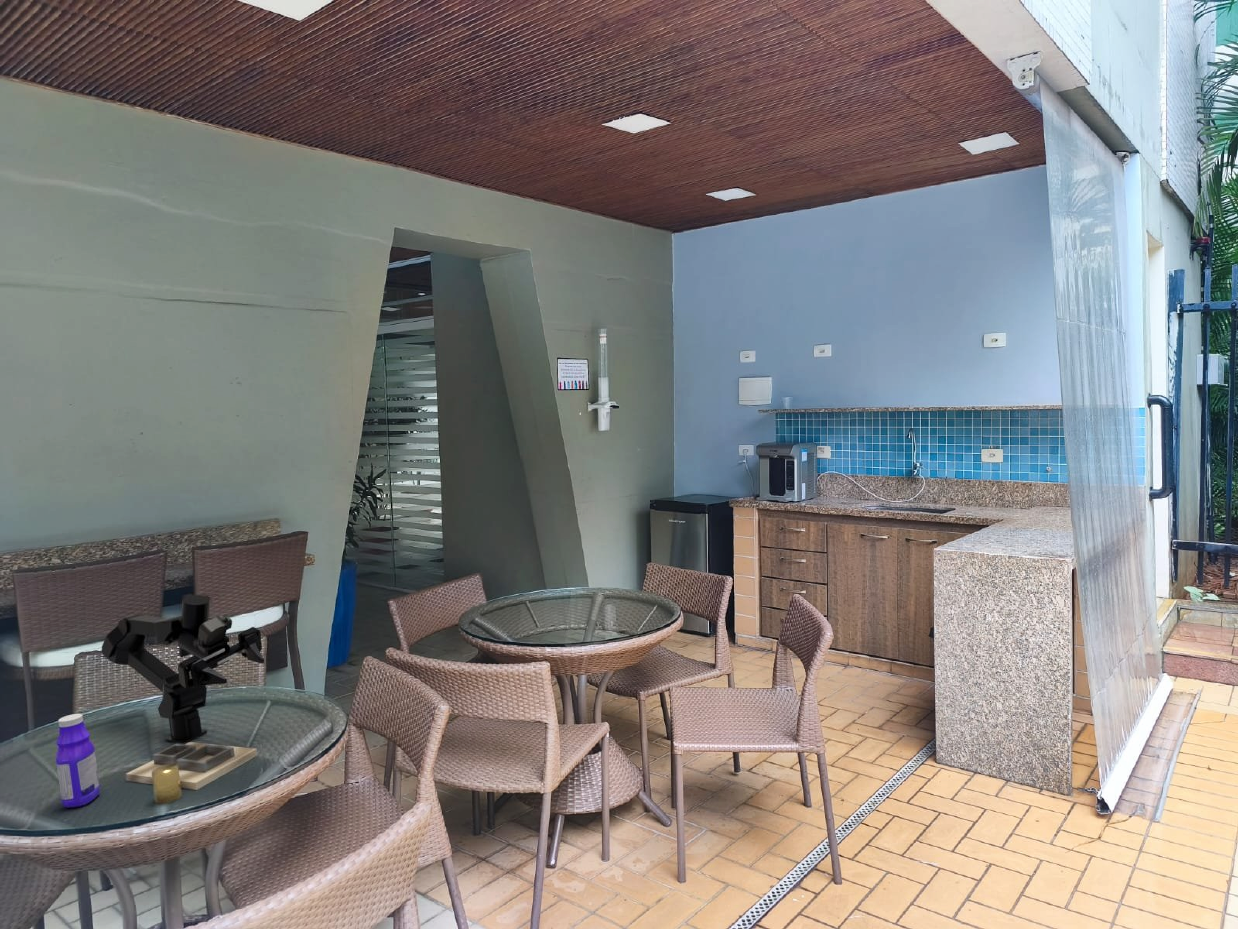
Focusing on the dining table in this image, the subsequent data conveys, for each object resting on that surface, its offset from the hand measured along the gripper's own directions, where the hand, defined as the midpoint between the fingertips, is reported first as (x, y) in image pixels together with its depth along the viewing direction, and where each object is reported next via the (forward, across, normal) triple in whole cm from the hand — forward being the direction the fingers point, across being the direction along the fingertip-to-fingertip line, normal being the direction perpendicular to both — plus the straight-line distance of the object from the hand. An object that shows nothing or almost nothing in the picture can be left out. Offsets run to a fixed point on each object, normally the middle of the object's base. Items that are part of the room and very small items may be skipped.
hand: (245, 671), depth 182 cm
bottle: (-9, -32, +17) cm, 38 cm away
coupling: (+7, -23, +14) cm, 28 cm away
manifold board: (-1, -13, +18) cm, 22 cm away
